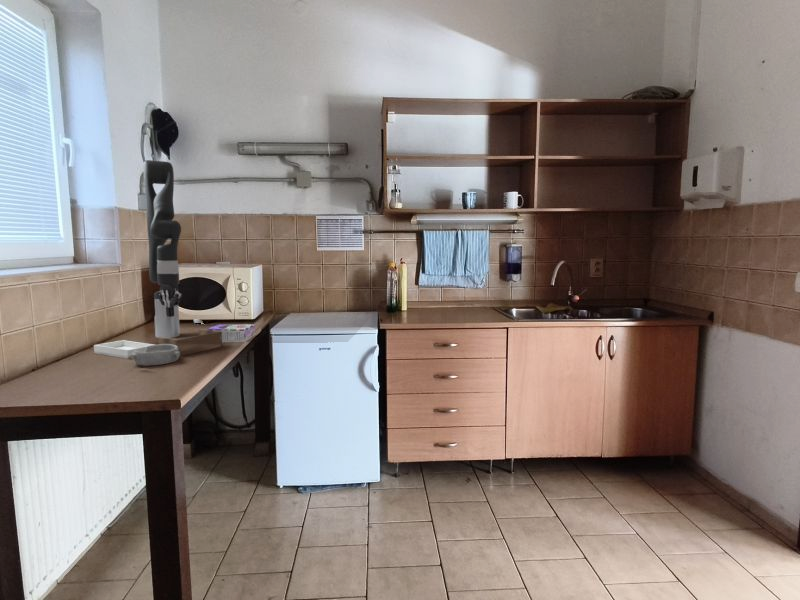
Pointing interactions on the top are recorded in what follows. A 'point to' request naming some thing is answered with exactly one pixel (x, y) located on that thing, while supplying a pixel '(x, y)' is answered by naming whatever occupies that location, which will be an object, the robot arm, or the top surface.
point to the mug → (198, 321)
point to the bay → (195, 342)
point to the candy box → (235, 332)
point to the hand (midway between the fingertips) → (170, 316)
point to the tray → (120, 348)
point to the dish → (156, 355)
